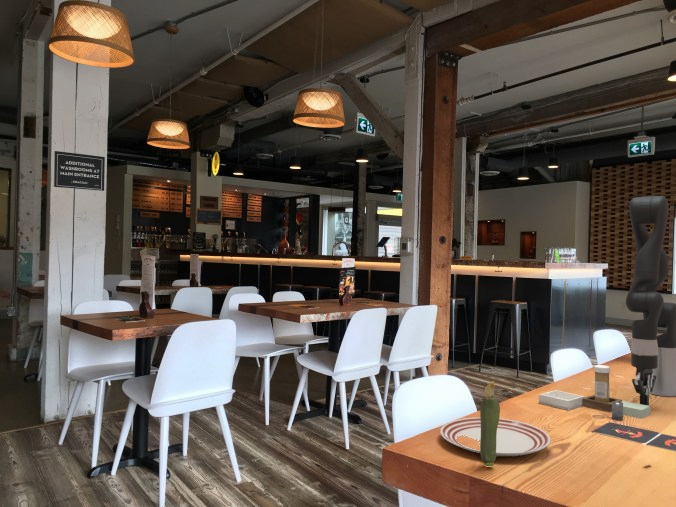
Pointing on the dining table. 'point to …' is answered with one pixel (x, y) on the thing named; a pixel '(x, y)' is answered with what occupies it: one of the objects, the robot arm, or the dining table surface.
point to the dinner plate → (499, 436)
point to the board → (635, 410)
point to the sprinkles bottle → (602, 383)
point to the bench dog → (617, 410)
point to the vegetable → (489, 425)
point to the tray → (561, 400)
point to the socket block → (598, 403)
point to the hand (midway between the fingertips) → (644, 405)
